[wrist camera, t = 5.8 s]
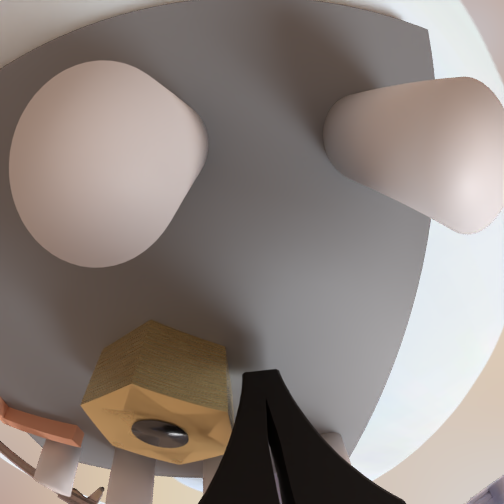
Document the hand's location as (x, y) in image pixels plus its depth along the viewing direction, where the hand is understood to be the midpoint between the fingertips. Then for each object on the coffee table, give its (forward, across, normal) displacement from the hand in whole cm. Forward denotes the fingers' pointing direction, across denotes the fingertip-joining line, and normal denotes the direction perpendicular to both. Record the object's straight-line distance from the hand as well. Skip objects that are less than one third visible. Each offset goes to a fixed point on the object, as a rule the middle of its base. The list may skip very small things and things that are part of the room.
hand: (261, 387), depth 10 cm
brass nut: (+1, +4, 0) cm, 4 cm away
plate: (+2, +6, 0) cm, 7 cm away
